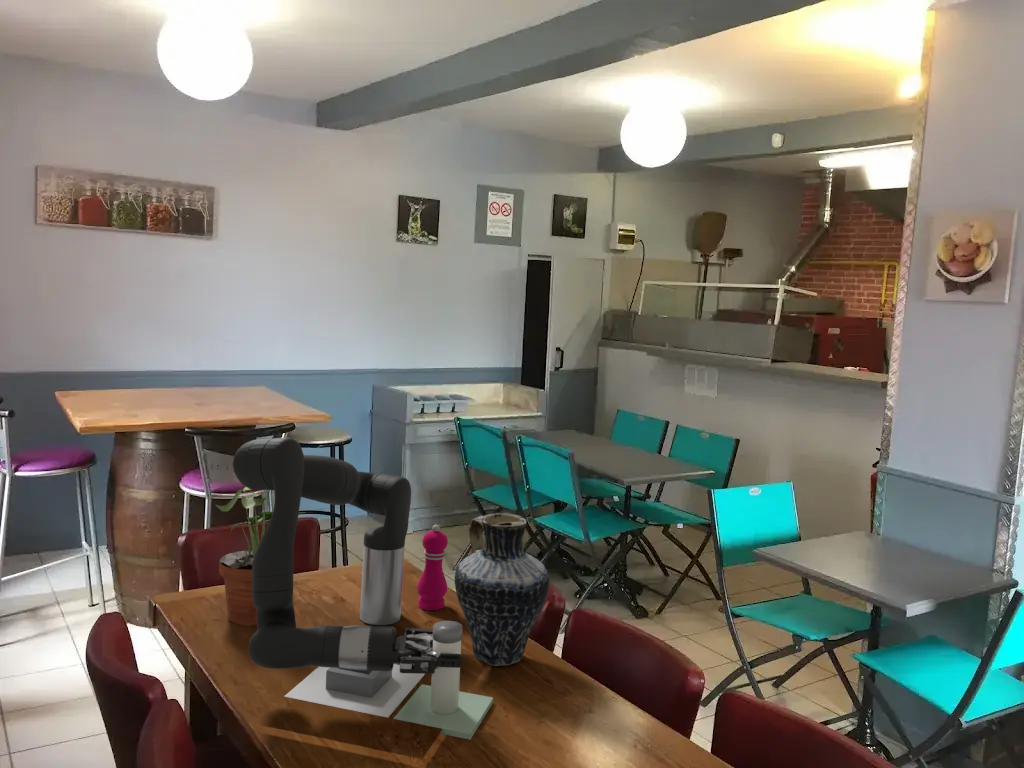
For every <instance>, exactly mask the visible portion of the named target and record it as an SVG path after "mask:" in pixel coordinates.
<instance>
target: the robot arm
mask: <svg viewBox="0 0 1024 768" xmlns="http://www.w3.org/2000/svg"><path fill="white" fill-rule="evenodd" d="M232 468H233V472H234V475H235V477H236V478H237V480H238V481H239V482H240V483H241V485H243V487H244V488H245V487H247V488H249V489H251V491H267V490H270V491H273V492H274V502H273V503H274V505H273V510H272V511H273V513H272V517H271V519H270V522H269V525H268V527H267V526H266V529H265V533H264V535H263V537H262V539H261V538H260V540H259V541H260V543H259V545H258V547H257V549H256V552H255V555H254V559H253V566H252V599H253V604H254V606H255V607H256V609H257V625H256V631H255V632H254V633H253V634H252V636H251V637H250V640H249V642H248V648H247V650H248V655H249V658H250V660H251V661H252V662H253V663H255V664H256V665H257V666H260V667H262V668H266V669H272V670H275V669H276V670H277V669H280V670H281V669H293V668H304V667H317V668H318V667H331V668H339V667H340V668H345V669H351V670H368V671H391V670H392V669H393V666H394V664H397V665H400V673H419V674H425V675H426V674H427V675H428V674H430V675H432V674H433V673H435V669H438V668H439V667H451V668H459V667H460V668H461V666H462V658H463V657H462V654H461V655H460V654H449V653H440V654H439V653H436V652H433V628H416V627H406V628H405V631H404V635H397V629H396V628H395V627H394V626H387V625H393V624H395V623H398V622H399V621H400V620H401V615H402V614H401V613H402V601H403V600H402V597H403V595H402V594H403V582H404V564H405V548H406V546H405V544H406V538H407V534H408V530H409V521H410V511H411V504H412V487H411V483H410V481H409V479H408V478H406V477H403V476H400V475H393V474H387V473H382V472H367V471H366V472H365V471H359V470H357V468H356V467H355V466H354V465H352V464H351V463H349V462H347V461H344V460H341V459H338V458H335V457H332V456H325V455H316V454H304V452H303V448H302V447H301V444H300V443H299V442H298V441H297V440H296V439H294V438H292V437H274V438H273V437H271V438H260V439H258V438H257V439H253V440H249V441H247V442H245V443H244V444H242V445H241V446H240V447H239V448H238V449H237V450H236V452H235V453H234V456H233V460H232ZM302 498H304V499H307V500H311V501H315V502H319V503H322V504H326V505H332V506H343V505H351V506H353V507H355V508H357V509H360V510H362V511H364V512H365V513H369V514H374V515H378V516H384V523H383V525H382V526H376V527H371V528H369V529H368V530H366V531H365V532H364V534H363V535H364V536H363V546H362V547H363V550H362V567H361V568H362V569H361V589H360V604H359V606H360V607H359V620H361V621H362V622H364V623H366V624H368V625H359V624H358V625H356V624H355V625H345V626H342V625H316V626H312V627H307V628H303V627H301V628H300V627H297V622H296V614H295V607H294V551H295V550H294V549H295V540H296V534H297V533H296V531H297V526H298V520H299V513H300V508H301V507H300V506H301V499H302ZM462 640H463V638H462V639H461V644H462Z"/></svg>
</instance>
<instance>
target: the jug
mask: <svg viewBox="0 0 1024 768" xmlns="http://www.w3.org/2000/svg"><path fill="white" fill-rule="evenodd" d="M526 527H527V519H526V518H525V517H524V516H521V515H518V514H513V513H511V512H496V513H491V514H490V513H489V514H485V515H480V516H477V517H475V518H471V522H470V524H469V527H468V536H469V540H470V541H469V542H470V546H471V554H470V555H468V556H466V557H464V559H462V560H461V561H460V562H459V564H458V565H457V567H456V570H455V573H454V587H455V593H456V597H457V601H458V604H459V606H460V608H461V610H462V612H463V613H462V614H463V616H464V620H465V623H466V626H467V628H468V629H467V630H468V633H469V636H470V639H471V643H472V652H473V657H475V658H476V659H477V660H479V661H481V662H483V663H487V665H488V666H494V667H501V666H509V665H513V664H516V663H519V662H520V661H521V660H522V658H523V655H524V654H525V650H526V646H527V644H528V643H527V642H528V639H529V636H530V634H531V632H532V630H533V628H534V625H535V623H536V621H537V619H538V617H539V615H540V613H541V611H542V609H543V607H544V604H545V601H546V598H547V596H548V592H549V589H550V575H549V571H548V570H547V568H546V566H545V565H544V564H543V563H542V562H541V561H540V560H539V559H537V558H535V557H534V556H533V555H530V554H528V553H527V552H525V549H524V545H523V539H524V538H523V537H524V535H525V530H526ZM483 534H484V536H483Z"/></svg>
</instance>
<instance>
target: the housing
mask: <svg viewBox="0 0 1024 768" xmlns="http://www.w3.org/2000/svg"><path fill="white" fill-rule="evenodd" d="M425 675H426V674H419V673H400V664H398V663H394V666H393V669H392V670H391V671H368V670H351V669H345V668H340V667H339V668H331V667H317V668H315V669H314V670H313V671H312V672H311V673H310V674H309V675H307V676H306V677H305V678H304V679H302V681H300V682H299V683H298V684H297V685H295V686H294V687H293V688H292V689H290V691H289V692H287V694H285V695H284V696H283V697H284V698H287V699H288V698H289V699H292V700H293V699H294V700H299V701H303V702H304V701H305V702H308V703H314V704H319V705H323V706H328V707H333V708H337V709H342V710H343V709H344V710H348V711H353V712H359V713H362V714H369V715H372V716H379V717H385V718H390V716H391V715H392V713H394V712H395V710H396V709H398V707H399V706H400V704H401V703H402V702H403V701H404V699H405V698H406V697H407V696H408V695H409V694H410V692H411V691H412V690H413V689H414V688H415V687H416V685H418V683H419V682H420V681H421V679H422V678H423V677H424V676H425Z"/></svg>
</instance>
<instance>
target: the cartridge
mask: <svg viewBox="0 0 1024 768" xmlns="http://www.w3.org/2000/svg"><path fill="white" fill-rule="evenodd" d="M432 629H433V650H432V651H433V652H436V653H439V654H440V653H449V654H460V655H461V656H462V643H461V639H462V640H463V625H462V624H461V623H460V622H459V621H458V622H457V621H452V620H441V621H438V622H435V623H434V624H433V625H432ZM460 676H461V667H459V668H451V667H439V668H438V669H435V673H433V674H431V682H430V683H431V684H430V686H431V705H430V708H431V710H432V711H433V712H435V713H438V714H451V713H454V712H456V711H457V710H458V706H459V691H460V682H461V681H460V679H461V677H460Z"/></svg>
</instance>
